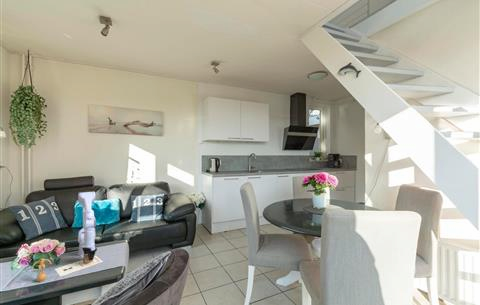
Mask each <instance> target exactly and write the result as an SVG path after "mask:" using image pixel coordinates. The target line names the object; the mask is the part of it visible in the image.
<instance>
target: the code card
mask: <svg viewBox="0 0 480 305" xmlns="http://www.w3.org/2000/svg"><path fill="white" fill-rule="evenodd" d="M103 262H104V260H102V259H101V258H99V257H98V256H97V255H94V259H93V262H91V263H88V264H86V265H85V264H84V263H83V259H81V260H79V261H75V262H72V263H69V264H65V265H64V266H63V265H62V266H59V267H56V268H54V270H55V271H56V273H57V274H58V275H59V277H63V276H66V275H69V274H72V273H74V272H77V271H80V270H83V269H86V268H89V267H91V266H92V267H93V266H94V265H97V264H100V263H103Z"/></svg>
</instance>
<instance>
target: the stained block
mask: <svg viewBox="0 0 480 305" xmlns="http://www.w3.org/2000/svg"><path fill="white" fill-rule="evenodd" d="M93 259H94V258H93ZM82 260H83V263H84V264H85V265H86V264H88V263H91V262H93V260H91V261H89V258H88V254H85V255H83V257H82Z"/></svg>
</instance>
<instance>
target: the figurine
mask: <svg viewBox="0 0 480 305" xmlns="http://www.w3.org/2000/svg"><path fill="white" fill-rule="evenodd" d="M46 261H48V263H49V264H50V265H52V262H51V261H50V260H49V259H47V258H43V257H42V258H40V259H39V260H37V261H35V262H34V263H33V264H32V266H31V271H32V270H33V268H34V266H35V265H36V264H38V263H39V265H38V272H39V274H38V275H37V276H36V280H37V282H43V281H44V280H46V279H47V277H48V276H47V273H45V267H46V264H45V262H46ZM41 268H42V272H41Z"/></svg>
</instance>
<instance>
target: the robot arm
mask: <svg viewBox="0 0 480 305" xmlns="http://www.w3.org/2000/svg"><path fill="white" fill-rule="evenodd" d="M77 195H78V198H77V200H78V201H77V202H78V205H80V206H81V207H82V228H81V229H80V230H78V232H77V233H78V234H77V243H79V246H78V252H77V253H76V254H77V255H78V256H80V258H83V255H85V254H88V258H89V261H91V260H93V258H94V256H96V255H95V254H96V252H97V251H98V248H96V246H95V245H96V243H95V241H96V240H95V239H96V225H97V220H96V217H95V210H93V209H92V205H93V204H94V203H95V200H96V192H95V191H83V192H78V194H77Z"/></svg>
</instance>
